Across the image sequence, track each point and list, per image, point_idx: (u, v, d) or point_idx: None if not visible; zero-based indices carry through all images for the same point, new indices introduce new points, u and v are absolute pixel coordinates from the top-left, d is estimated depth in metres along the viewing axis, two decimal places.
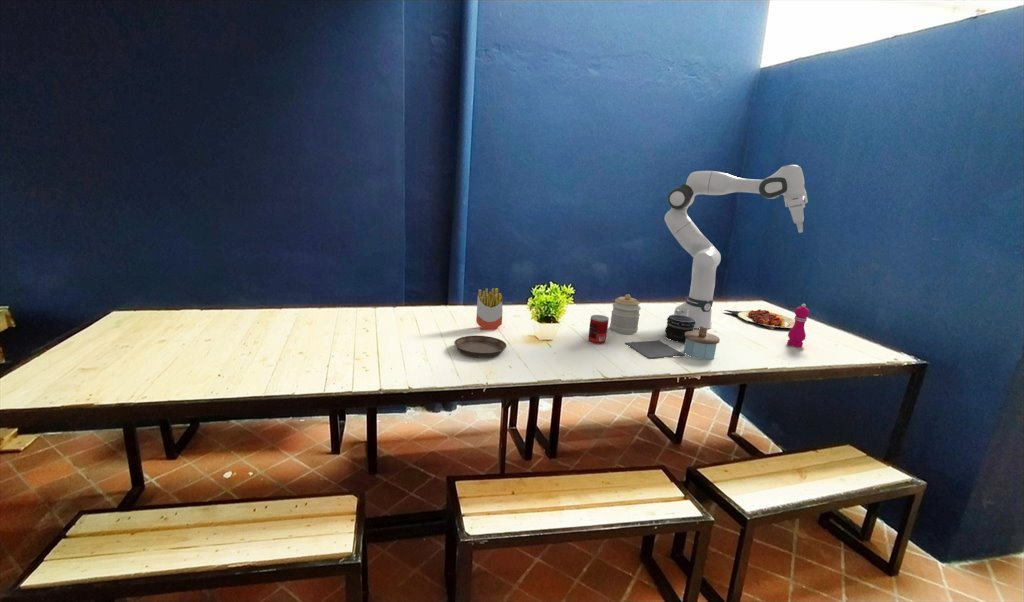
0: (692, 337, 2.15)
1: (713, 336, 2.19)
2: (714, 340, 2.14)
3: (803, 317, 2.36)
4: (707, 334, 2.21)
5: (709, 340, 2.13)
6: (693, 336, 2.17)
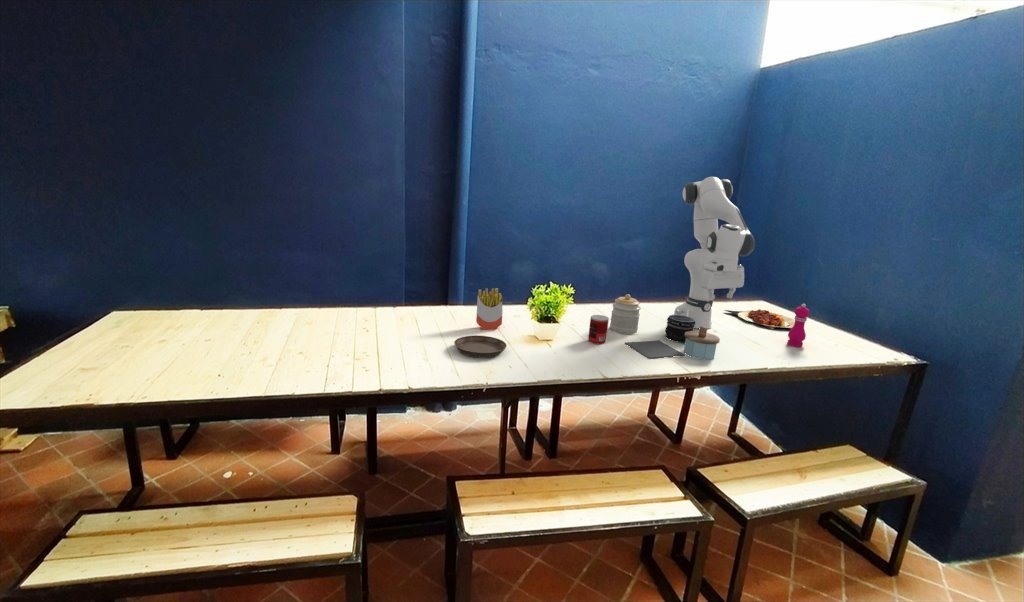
0: (692, 337, 2.15)
1: (713, 336, 2.19)
2: (714, 340, 2.14)
3: (803, 317, 2.36)
4: (707, 334, 2.21)
5: (709, 340, 2.13)
6: (693, 336, 2.17)
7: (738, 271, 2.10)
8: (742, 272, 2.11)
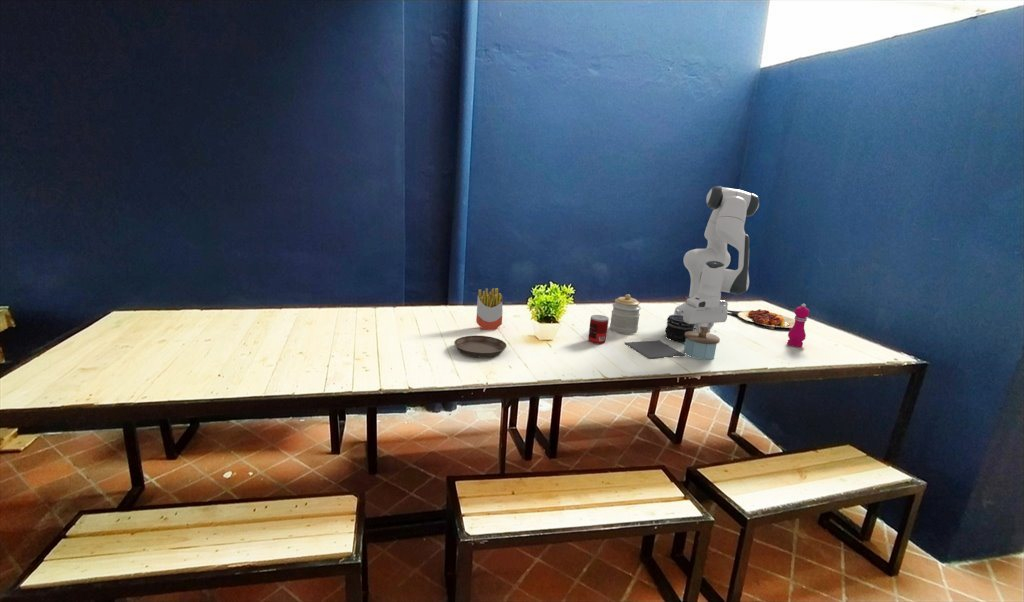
0: (692, 337, 2.15)
1: (713, 336, 2.19)
2: (714, 340, 2.14)
3: (803, 317, 2.36)
4: (707, 334, 2.21)
5: (709, 340, 2.13)
6: (693, 336, 2.17)
7: (721, 307, 2.15)
8: (725, 308, 2.16)
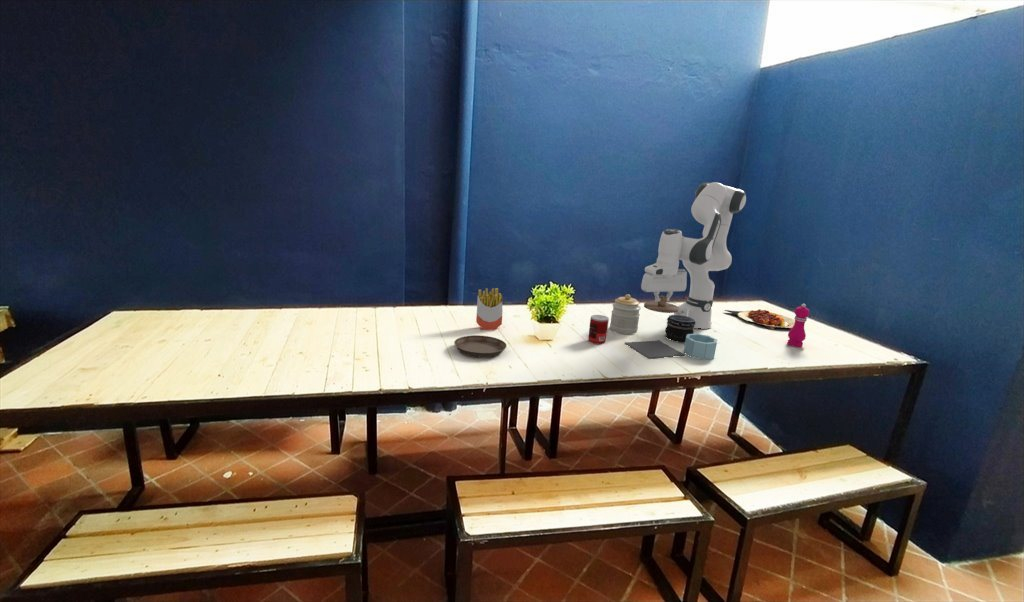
0: (651, 306, 2.13)
1: (673, 306, 2.17)
2: (673, 309, 2.12)
3: (803, 317, 2.36)
4: (667, 304, 2.19)
5: (668, 309, 2.11)
6: (652, 305, 2.15)
7: (680, 275, 2.13)
8: (684, 276, 2.14)
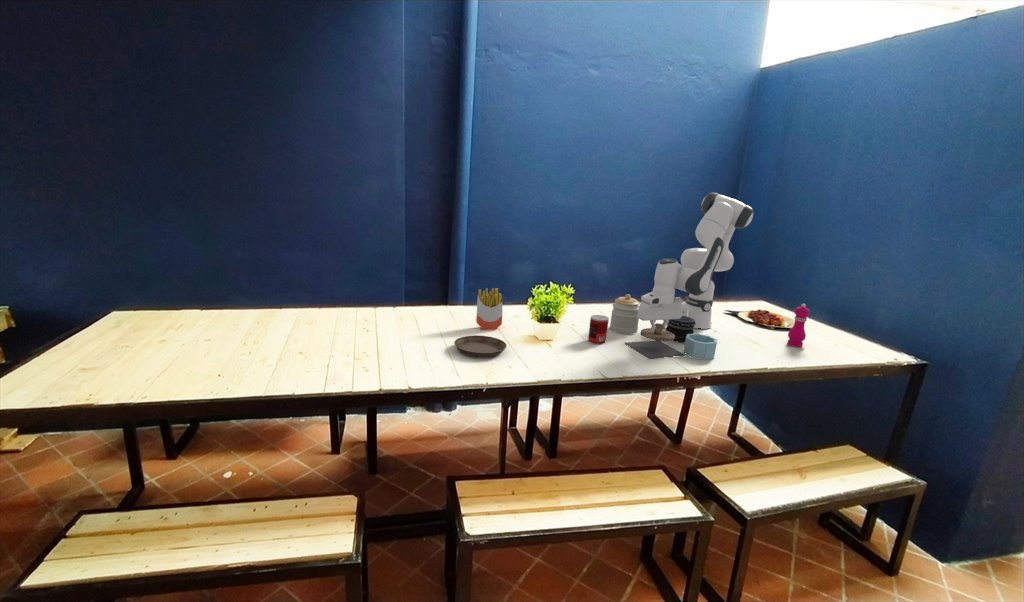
0: (647, 334, 2.16)
1: (669, 333, 2.20)
2: (669, 337, 2.15)
3: (803, 317, 2.36)
4: (663, 331, 2.22)
5: (664, 337, 2.14)
6: (648, 333, 2.18)
7: (676, 303, 2.16)
8: (680, 304, 2.17)
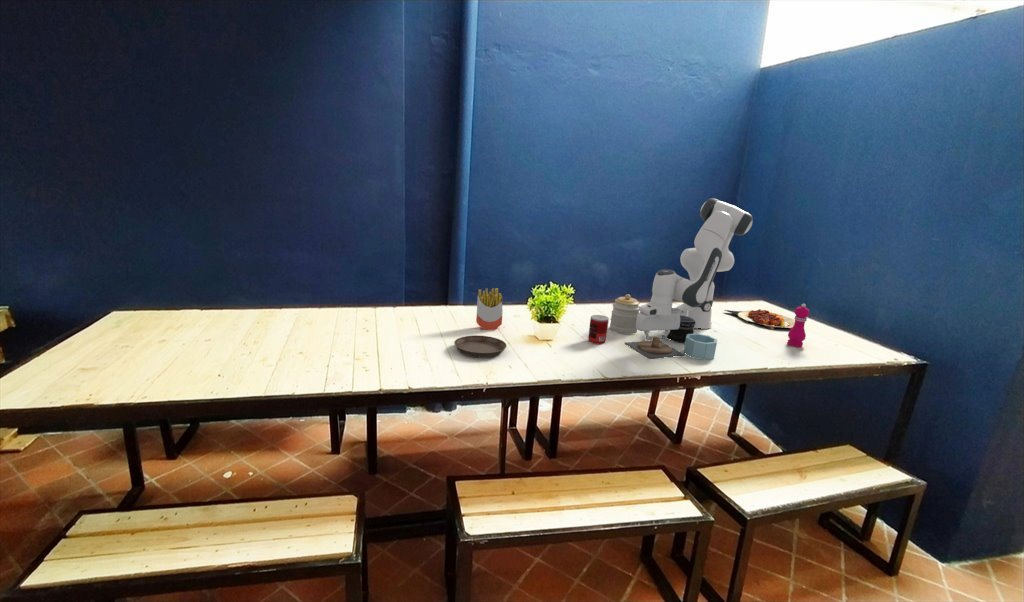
0: (644, 347, 2.18)
1: (666, 346, 2.22)
2: (666, 350, 2.16)
3: (803, 317, 2.36)
4: (660, 344, 2.24)
5: (661, 350, 2.16)
6: (645, 346, 2.20)
7: (673, 314, 2.18)
8: (678, 315, 2.18)
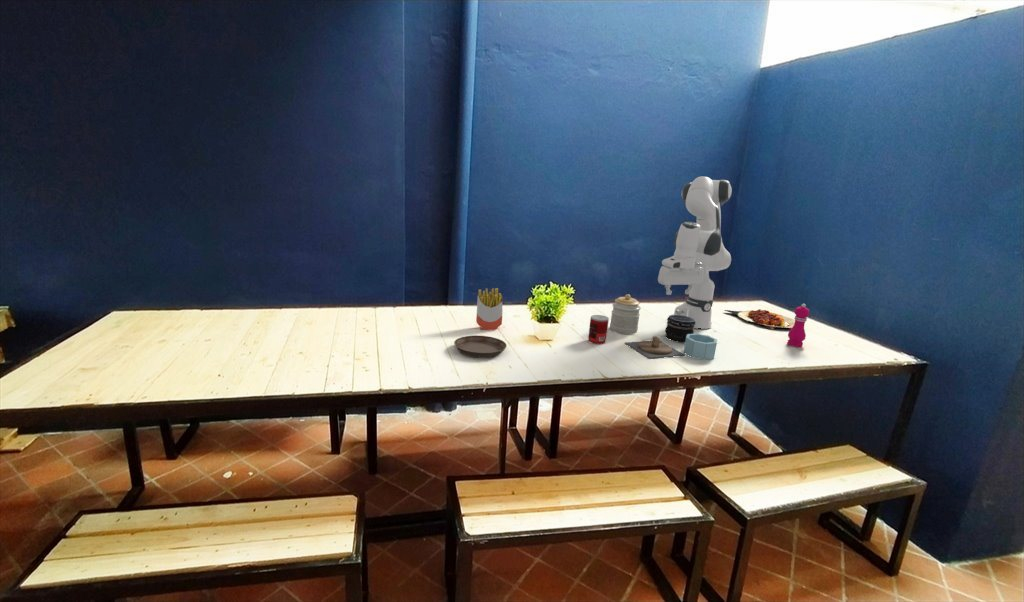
0: (645, 347, 2.18)
1: (666, 346, 2.22)
2: (666, 350, 2.16)
3: (803, 317, 2.36)
4: (660, 344, 2.24)
5: (661, 350, 2.16)
6: (646, 346, 2.20)
7: (697, 268, 2.14)
8: (701, 269, 2.15)
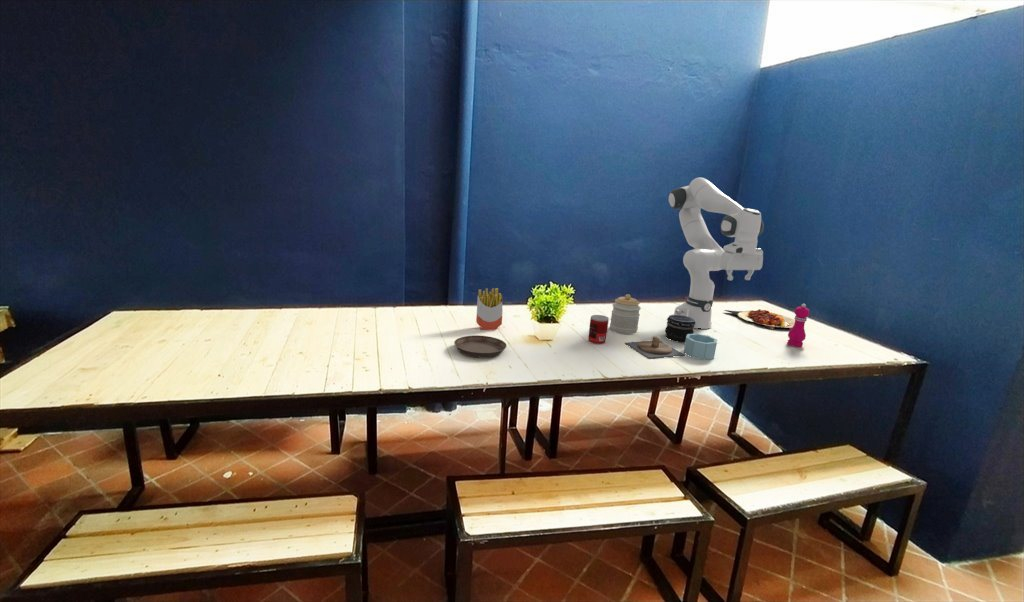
0: (645, 347, 2.18)
1: (666, 346, 2.22)
2: (666, 350, 2.16)
3: (803, 317, 2.36)
4: (660, 344, 2.24)
5: (661, 350, 2.16)
6: (646, 346, 2.20)
7: (757, 254, 2.19)
8: (761, 255, 2.20)
